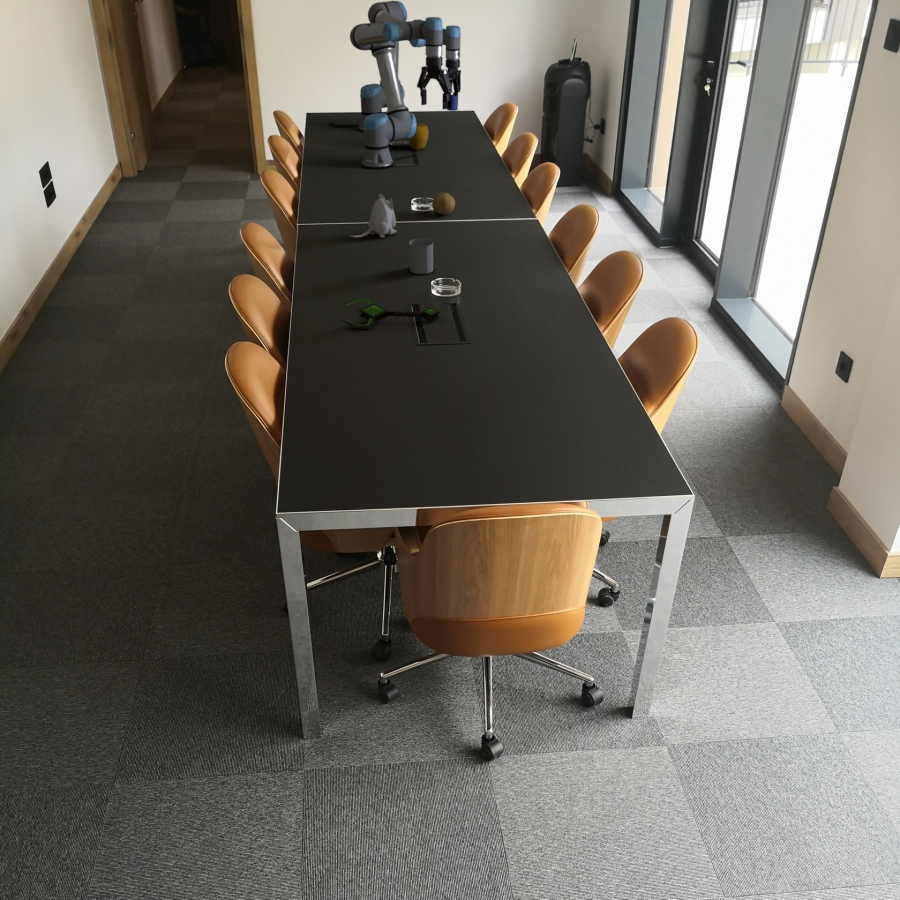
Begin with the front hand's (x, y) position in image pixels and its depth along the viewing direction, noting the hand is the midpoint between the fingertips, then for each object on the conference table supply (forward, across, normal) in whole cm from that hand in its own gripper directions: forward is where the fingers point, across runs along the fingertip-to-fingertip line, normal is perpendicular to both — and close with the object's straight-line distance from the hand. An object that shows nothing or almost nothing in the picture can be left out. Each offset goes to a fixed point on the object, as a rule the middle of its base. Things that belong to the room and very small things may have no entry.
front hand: (434, 106), depth 395 cm
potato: (+31, -44, +39) cm, 66 cm away
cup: (+31, -83, +91) cm, 127 cm away
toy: (+31, -45, +80) cm, 97 cm away
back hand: (+13, +41, -55) cm, 69 cm away
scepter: (+31, -108, +129) cm, 171 cm away
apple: (+31, +42, -30) cm, 60 cm away
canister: (+15, +41, -55) cm, 70 cm away
